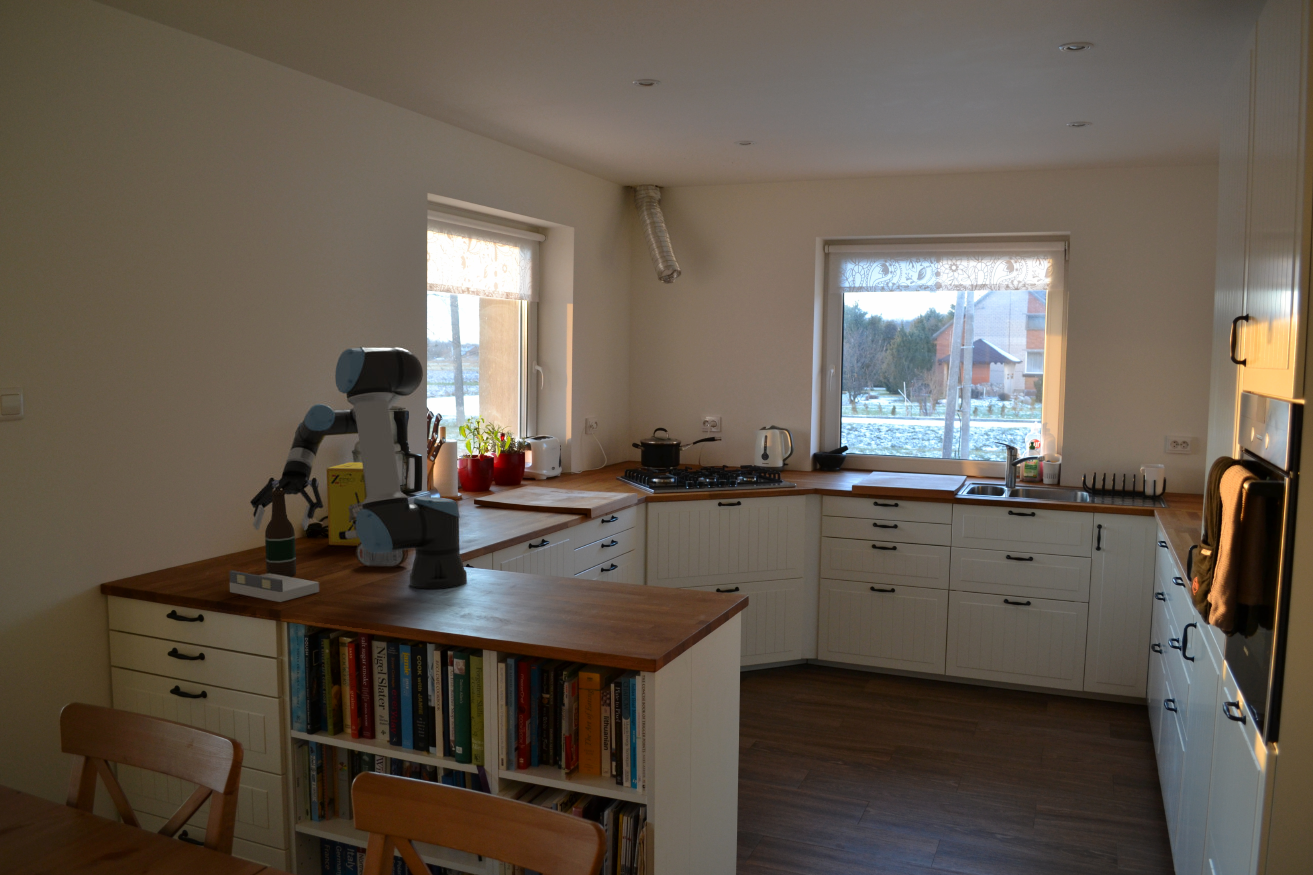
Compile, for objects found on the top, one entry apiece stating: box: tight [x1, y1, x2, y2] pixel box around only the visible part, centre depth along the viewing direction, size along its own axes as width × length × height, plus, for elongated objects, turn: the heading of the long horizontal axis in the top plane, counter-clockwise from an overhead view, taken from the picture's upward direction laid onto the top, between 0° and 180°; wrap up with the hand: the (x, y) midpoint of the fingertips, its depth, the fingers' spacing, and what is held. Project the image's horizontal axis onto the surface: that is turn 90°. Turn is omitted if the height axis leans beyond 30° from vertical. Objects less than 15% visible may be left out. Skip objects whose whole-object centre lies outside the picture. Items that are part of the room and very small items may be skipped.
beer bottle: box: [264, 489, 297, 577], centre depth 269 cm, size 8×8×24 cm
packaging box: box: [326, 461, 367, 547], centre depth 317 cm, size 16×16×25 cm
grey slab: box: [228, 570, 320, 603], centre depth 251 cm, size 20×12×6 cm, turn 59°
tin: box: [355, 542, 409, 568], centre depth 280 cm, size 15×3×8 cm, turn 84°
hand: (279, 527), depth 270 cm, fingers open, 13 cm apart
